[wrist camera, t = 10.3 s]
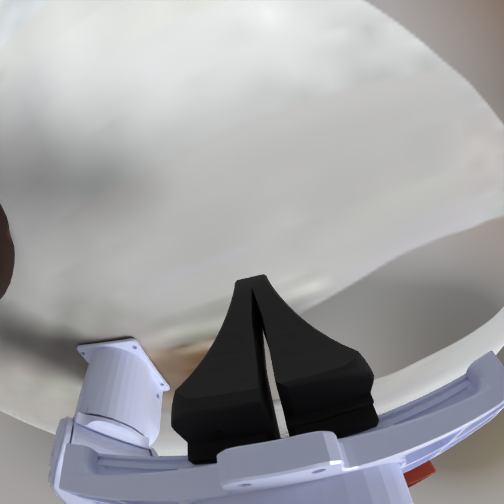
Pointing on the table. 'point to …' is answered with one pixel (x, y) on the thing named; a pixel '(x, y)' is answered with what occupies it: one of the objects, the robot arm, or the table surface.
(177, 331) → the table surface
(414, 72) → the table surface
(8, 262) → the dark brown rounded piece
